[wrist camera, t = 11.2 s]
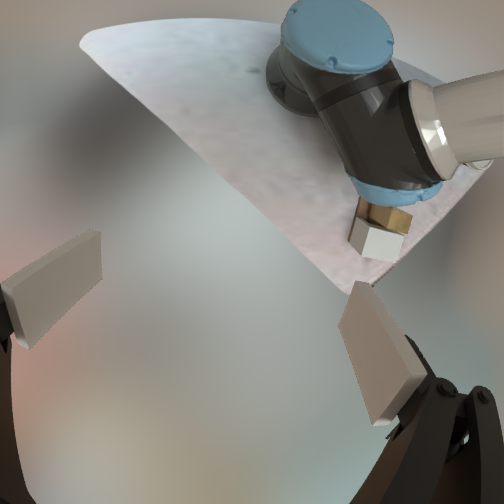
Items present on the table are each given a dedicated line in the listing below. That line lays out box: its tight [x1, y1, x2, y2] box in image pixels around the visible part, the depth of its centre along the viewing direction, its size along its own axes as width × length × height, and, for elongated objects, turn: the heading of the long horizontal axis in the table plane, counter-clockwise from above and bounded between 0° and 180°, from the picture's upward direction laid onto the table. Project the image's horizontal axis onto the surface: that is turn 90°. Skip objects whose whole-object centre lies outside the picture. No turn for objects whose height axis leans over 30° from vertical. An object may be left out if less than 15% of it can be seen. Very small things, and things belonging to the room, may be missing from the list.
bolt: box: [368, 204, 413, 234], centre depth 41 cm, size 13×4×10 cm, turn 170°
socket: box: [349, 217, 404, 263], centre depth 45 cm, size 5×7×7 cm
